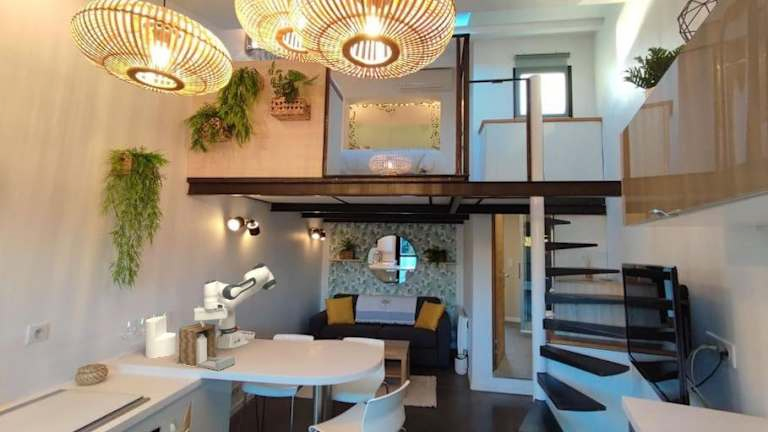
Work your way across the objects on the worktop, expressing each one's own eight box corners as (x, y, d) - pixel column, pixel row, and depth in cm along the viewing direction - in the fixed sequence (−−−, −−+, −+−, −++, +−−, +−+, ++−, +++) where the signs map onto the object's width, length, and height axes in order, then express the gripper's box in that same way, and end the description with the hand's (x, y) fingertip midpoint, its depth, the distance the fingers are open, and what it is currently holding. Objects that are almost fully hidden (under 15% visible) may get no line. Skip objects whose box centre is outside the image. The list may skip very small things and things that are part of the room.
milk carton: (199, 364, 246) (199, 335, 246) (190, 363, 247) (190, 334, 247) (207, 360, 252) (206, 332, 253) (197, 359, 254) (197, 331, 254)
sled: (184, 363, 247) (184, 355, 247) (200, 357, 258) (200, 350, 258) (219, 370, 233) (219, 362, 233) (234, 363, 244) (234, 356, 244)
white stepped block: (139, 359, 258) (139, 322, 258) (154, 350, 276) (154, 316, 277) (168, 358, 259) (167, 321, 259) (180, 349, 278) (180, 315, 278)
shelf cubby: (179, 364, 246) (179, 328, 246) (200, 356, 261) (200, 322, 261) (194, 367, 240) (194, 330, 240) (215, 359, 255) (215, 324, 255)
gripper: (192, 307, 240) (193, 329, 240) (226, 305, 246) (227, 326, 245) (195, 305, 247) (195, 326, 246) (228, 303, 252) (228, 323, 252)
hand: (211, 326), depth 246 cm, fingers open, 8 cm apart
